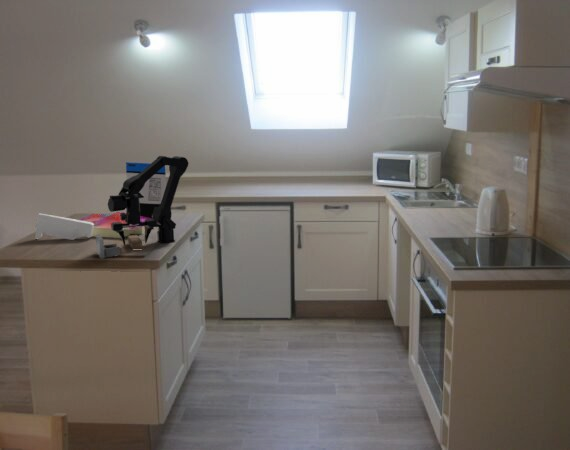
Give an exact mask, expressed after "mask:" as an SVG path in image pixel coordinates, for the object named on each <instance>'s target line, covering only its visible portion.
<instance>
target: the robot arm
mask: <svg viewBox="0 0 570 450" xmlns="http://www.w3.org/2000/svg"><path fill="white" fill-rule="evenodd" d="M164 166H165V167H166V166H169V168H168V169H169V176H168V180H167V181H166V188H165V191H164V195H163V198H162V201H161V204H160V205H159V207H158V208H157V207H154V211H153V214H152V216H153V217H152V219H145V222H141V220H140V202H139V198H144V196H143V195H141V193H139V192H140V191H141V189H142V188H143V187H144V185H145V183H146V182H147V180H149V179H150V178H151V177H152V176H153V175H154V174H156V173H157V172H158V171H159V170H160V169H161V168H163V167H164ZM188 167H189V161H188V159H187V158H186V157H185V156H178V155H175V156H173V157H170V156H166V155H158V156H157V157H156V158H155V160H153V161H152V162H151V163H150V165H149V166H147V167H146V168H145V169H144V170H143V171H142V172H140V173H139V174H138V175H136V176H133V177H131V178H129V179H127V178H126V180H125V181H124V182H123V185H122V187H121V189H120V190H119V192H118V194H117V195H109V198H108V200H107V201H108V202H107V207H108V211H109V212H111V213H113V212H114V213H115V212H120V213H119V217H120V218H121V221H123V220H125V223H123V224H122V223H121V222H112V223H111V229H112V230H113V231H116V232H117V233H119V235H120V237H121V238H120V239H121V242H122V244H123V246H126V239H125V238H126V236H125V237H124V231H123V230H122V229H123V228H127V227H137V226H144V227H145V233H144V243H145V244H147V242H148V239H149V236H150V234H151V232H152V230H154V229H155V228H157V237H156V238H157V241H158V242H159V241H160V242H159V243H160V244H164V243H165V244H166V243H174V242H176V239H175V235H174V234H175V232H174V229H176V226H177V224H176V222H175V221H174V220H172V205H173V201H174V199H175V197H176V192H177V190H178V187H179V186H178V185H179V183H180V179H181V178H182V176H184V174H185V173H186V171H187V169H188ZM125 210H126V212H124V213H121V212H123V211H125ZM130 224H131V225H130ZM135 224H136V225H135ZM137 224H138V225H137ZM154 227H155V228H154Z"/></svg>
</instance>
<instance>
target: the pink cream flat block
mask: <svg viewBox="0 0 570 450" xmlns="http://www.w3.org/2000/svg"><path fill="white" fill-rule="evenodd" d="M120 213H125V212H124V211H115V212H114V213H112V214H101V213H100V214H99V213H97V214H96V213H92V214H90V215H88V216H85V217H83V218H80V219H79V220H81V221H87V222H92V223H94V230H93V235H92V236H91V237H95V238H96V236H95V235H97V234H99V235H100V236H101V237H102V238H114V239H121V237H120V235H119V233H117V232H116V231H113V230H112V229H111V223H112V222H121V223H122V224H123V223H125V220H123V221H121V218H120ZM141 217H142V216H140V220H141V222H145V219H148V218H147V217H144V218H145V219H143V217H142V219H141ZM149 219H151V218H149ZM130 225H131V224H130ZM135 225H136V224H135ZM137 225H138V224H137ZM154 229H156V227H154ZM122 230H123V231H124V237H125V238H126V237H128V236H129V235H145V227H144V226H137V227H127V228H123V229H122Z"/></svg>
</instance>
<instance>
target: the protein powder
mask: <svg viewBox="0 0 570 450" xmlns="http://www.w3.org/2000/svg"><path fill="white" fill-rule="evenodd" d="M150 164H151V163H147V162H145V163H144V162H143V163H142V162H125V165H126V166H125V169H126V180H127V179H129V178H131V177H133V176H136V175H138V174H139V173H140V172H142V171H143V170H144V169H145V168H146V167H147V166H149V165H150ZM166 174H167V173H166V165H165V166H164V167H163V168H161V169H160V170H159V171H158V172H157V173H156V174H154V175H153V176H152V177H151V178H150V179H149V180H147V182H146V183H145V185H144V187H143V188H142V189H141V191H140V192H139V193H141V195H143V196H144V198H139V202H140V216H142V217H143V219H145V218H144V217H147V218H148V219H149V218H151V219H152V217H153V216H152V214H153V211H154V207H157V208H158V207H159V205H160V204H161V201H162V198H163V195H164V191H165V188H166V185H167V178H166ZM142 217H141V219H142Z"/></svg>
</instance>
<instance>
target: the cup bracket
mask: <svg viewBox="0 0 570 450" xmlns="http://www.w3.org/2000/svg"><path fill="white" fill-rule="evenodd" d="M95 236H96V237H95V245H96V246H95V248H96V255H97V256H98V255H99V256H98V257H99V258H100V260H101V259H105V258H113V256H114V257H116V256H115V255H120V256H121V249H120V247H119V246H118V245H117V243H109V244H104V239H103V238H104V237H101V236H100V235H99V234H97V235H95Z"/></svg>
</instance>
